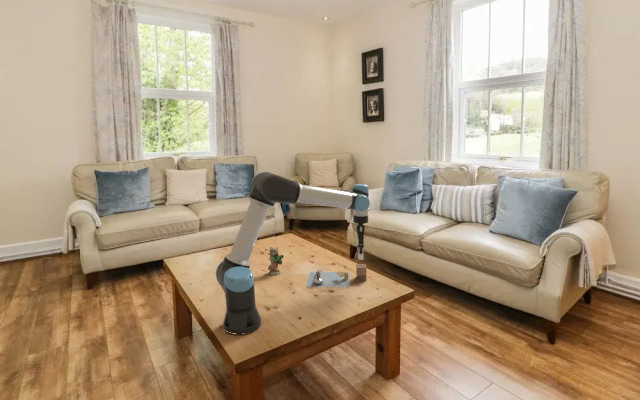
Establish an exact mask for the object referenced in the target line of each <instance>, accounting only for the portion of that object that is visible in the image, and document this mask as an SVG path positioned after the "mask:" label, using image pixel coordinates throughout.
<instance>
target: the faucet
mask: <svg viewBox="0 0 640 400" xmlns="http://www.w3.org/2000/svg"><path fill="white" fill-rule="evenodd" d="M317 271H320V279H317V278H314V284H317V285H319V284H322V283H323V279H322V277H323V272H324V269H317ZM317 271H316V272H317Z"/></svg>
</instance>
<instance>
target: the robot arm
mask: <svg viewBox="0 0 640 400" xmlns="http://www.w3.org/2000/svg"><path fill="white" fill-rule="evenodd" d="M250 189H251V191H250V193H249V196H248V199H249V205H248V207H247V211H246V212H245V215H244V217H243V220H242V222H241V225H240V227H239V231H238V233H237V234H236V236H235V237H236V238H235V240H234V243H233V245H232V248H231V250H230V252H229V253H228V254H226V255H225V256H224V258H223V260H222V261H221V262H220V263H219V264H218V265H217V267H216V270H215V276H216V281H217V282H218V283H217V284H218V285H219V286H220V287H221V289H222V290H223V292H224V296H225V306H226V311H225V314H224V319H223V330H224V329H225V330H226V331H228V332H231V333H236V334H242V333H248V332H251V333H253V332H255V331H257V330H258V329H259V328H260V327H261V325H262V317H261V315H260V313H259V311H258V308H257V306H256V305H257V304H256V294H255V291H256V290H255V277H254V272H253V270H251V268H250V267H251V262H250V258H251V255H252V253H253V251H254V248H255V245H256V243H257V240H258V237H259V234H260V232H261V230H262V227H263V225H264V222H265V220H266V218H267V215H268V212H269V210H270V209H273V208H274V206H275V205H276V204H278V203H279V204H291V205H296V204H297V203H301V204H309V205H317V206H324V207H331V208H333V207H334V208H338V209H339V208H340V209H347V210H351V211H352V214H353V216H352V220H353V224H357V225H356V233H357V245H356V248H357V260H359V261H360V260H361V261H363V260H364V252H365V251H364V250H365V243H364V242H365V241H364V239H365V230H366V227H365V225H364V224H368V223H369V211H370V202H371V201H370V198H369V196H370V195H369V194H370V193H369V192H370V191H369V185H368V184H366V183H357V184H356V183H355V184H353V187H352V188H351V189H340V190H339V189H337V190H336V189H330V188H325V187H317V186H313V185H312V186H311V185H306V184H301V183H300V182H299V181H297V180H291V179H289V178H286V177H284V176H281V175H278V174H275V173H272V172H268V171H267V172H266V171H263V172H259V173H258V174H256V175H254V177H253V178H252V180H251V183H250ZM256 329H257V330H256ZM225 330H224V331H225ZM254 330H255V331H254ZM226 331H225V332H226ZM252 331H253V332H252ZM248 334H249V333H248Z"/></svg>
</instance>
